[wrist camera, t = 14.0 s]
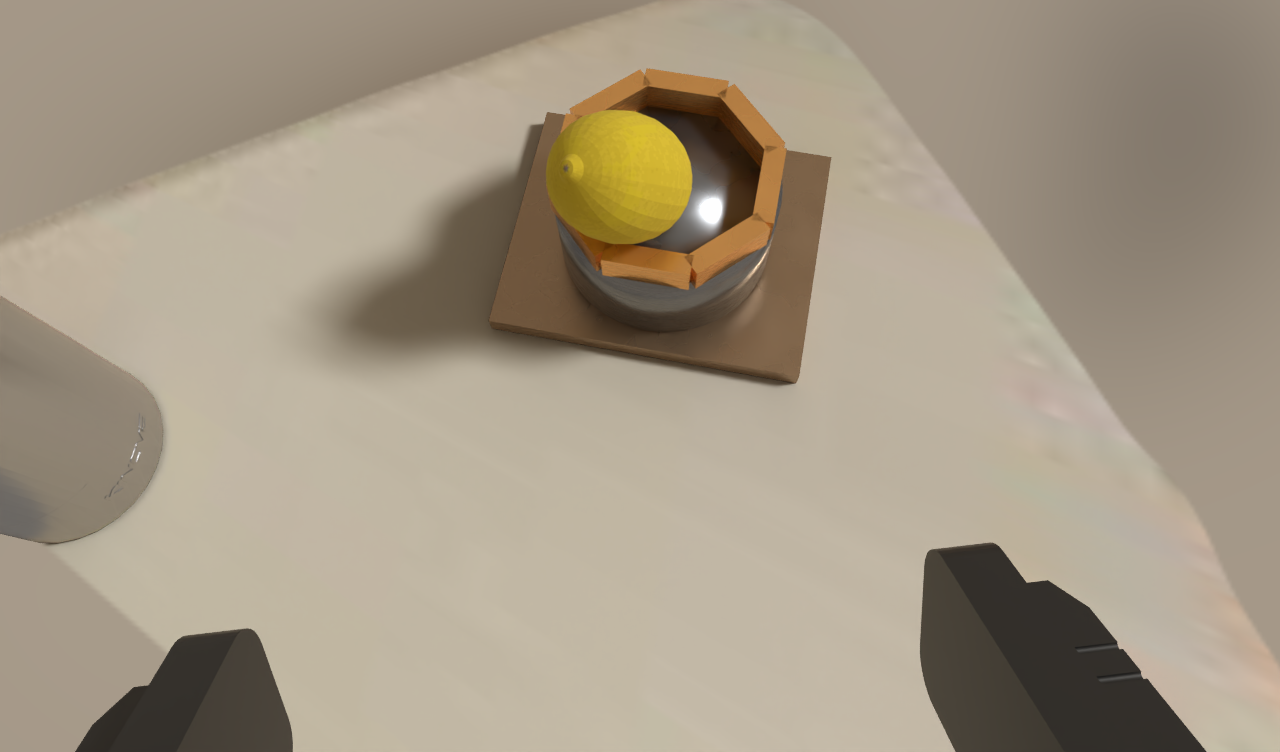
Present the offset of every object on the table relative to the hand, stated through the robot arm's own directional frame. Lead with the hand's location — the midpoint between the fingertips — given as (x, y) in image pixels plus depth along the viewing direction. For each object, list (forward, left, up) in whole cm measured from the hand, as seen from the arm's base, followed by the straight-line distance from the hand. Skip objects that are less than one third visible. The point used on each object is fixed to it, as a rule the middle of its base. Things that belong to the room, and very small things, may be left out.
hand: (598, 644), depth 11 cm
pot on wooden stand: (-3, +22, -31) cm, 38 cm away
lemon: (-3, +21, -24) cm, 32 cm away
